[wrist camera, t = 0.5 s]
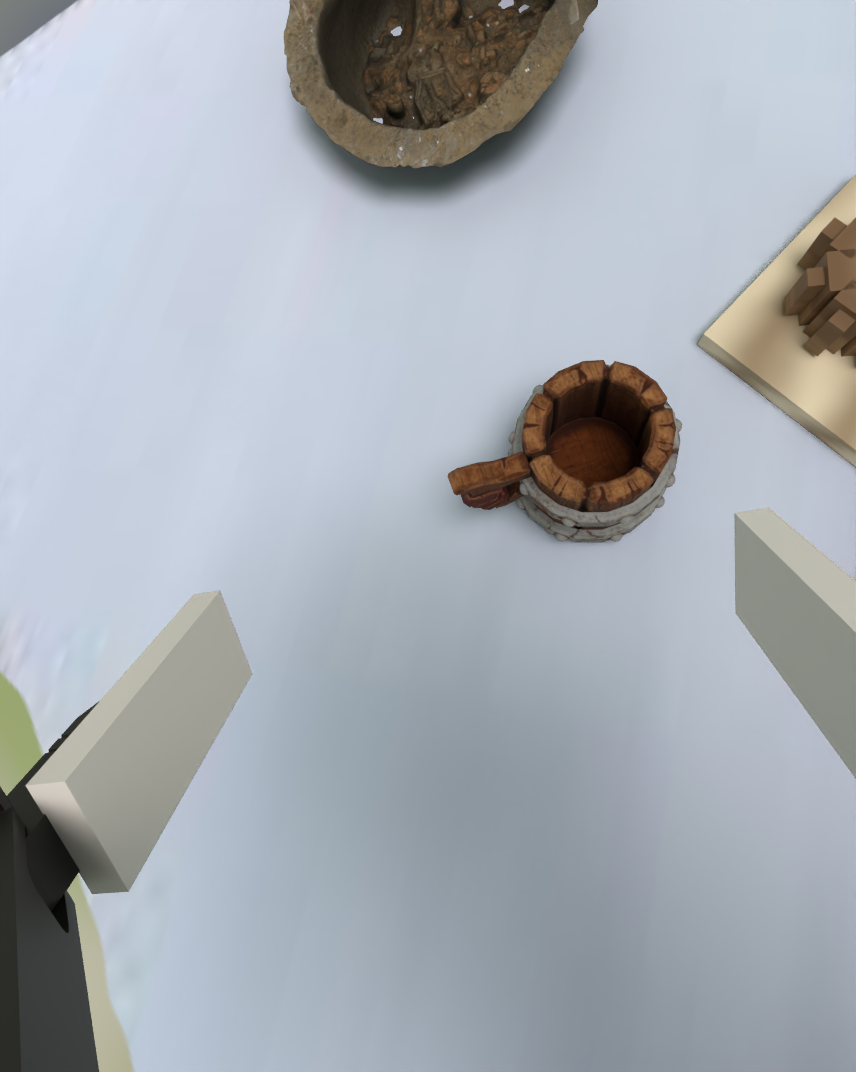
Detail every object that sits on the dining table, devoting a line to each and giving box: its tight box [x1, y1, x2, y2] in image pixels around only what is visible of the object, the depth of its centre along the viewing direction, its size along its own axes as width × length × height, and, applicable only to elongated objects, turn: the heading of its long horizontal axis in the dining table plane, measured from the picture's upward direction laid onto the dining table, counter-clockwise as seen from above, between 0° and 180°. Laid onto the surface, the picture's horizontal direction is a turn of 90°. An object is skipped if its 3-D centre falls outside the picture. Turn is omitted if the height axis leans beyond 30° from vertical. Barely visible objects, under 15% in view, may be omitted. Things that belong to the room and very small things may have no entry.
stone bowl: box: [284, 0, 598, 168], centre depth 49 cm, size 25×25×9 cm
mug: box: [448, 360, 682, 542], centre depth 41 cm, size 12×14×15 cm
